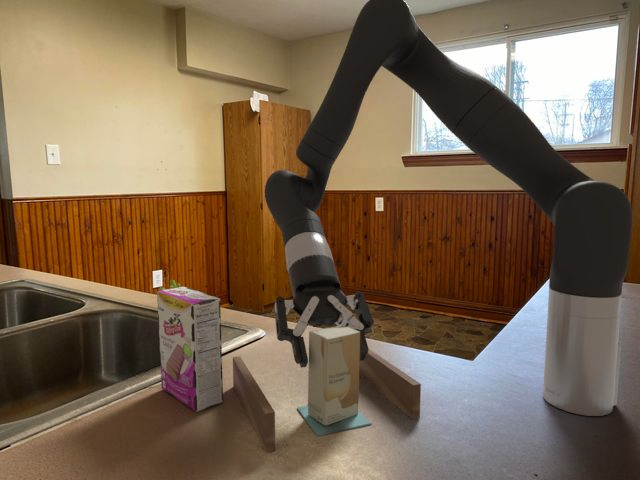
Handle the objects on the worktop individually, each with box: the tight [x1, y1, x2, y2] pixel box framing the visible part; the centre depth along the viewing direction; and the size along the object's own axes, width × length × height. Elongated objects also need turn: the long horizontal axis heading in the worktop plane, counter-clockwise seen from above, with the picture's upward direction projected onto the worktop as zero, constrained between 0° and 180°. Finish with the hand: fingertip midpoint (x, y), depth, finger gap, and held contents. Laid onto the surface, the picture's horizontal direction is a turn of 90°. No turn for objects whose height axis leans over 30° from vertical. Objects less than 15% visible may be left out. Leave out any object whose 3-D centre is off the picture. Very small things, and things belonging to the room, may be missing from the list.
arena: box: [232, 348, 422, 453], centre depth 68 cm, size 22×20×5 cm
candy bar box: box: [156, 286, 224, 413], centre depth 69 cm, size 11×5×16 cm, turn 45°
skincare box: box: [307, 325, 360, 425], centre depth 63 cm, size 6×4×12 cm
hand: (334, 361), depth 62 cm, fingers open, 8 cm apart
